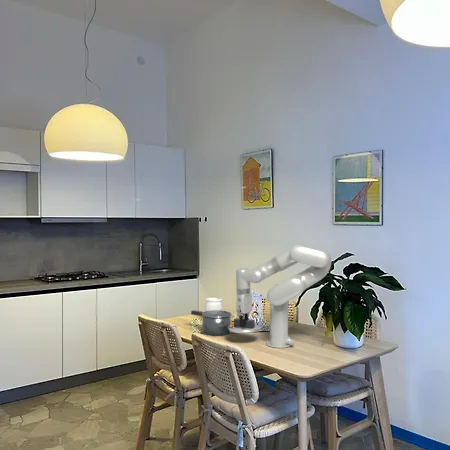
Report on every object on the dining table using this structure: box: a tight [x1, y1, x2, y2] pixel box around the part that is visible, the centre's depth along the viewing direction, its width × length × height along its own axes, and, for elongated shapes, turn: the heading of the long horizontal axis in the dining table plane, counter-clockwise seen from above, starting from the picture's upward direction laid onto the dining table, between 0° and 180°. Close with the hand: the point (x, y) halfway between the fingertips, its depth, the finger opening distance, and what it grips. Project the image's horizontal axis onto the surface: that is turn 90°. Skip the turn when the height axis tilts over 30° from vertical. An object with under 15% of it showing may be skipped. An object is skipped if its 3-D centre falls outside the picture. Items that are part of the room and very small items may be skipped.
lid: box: [228, 317, 261, 334], centre depth 240 cm, size 17×17×5 cm
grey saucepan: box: [190, 309, 232, 337], centre depth 259 cm, size 25×17×11 cm, turn 58°
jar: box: [204, 296, 223, 312], centre depth 282 cm, size 11×10×15 cm
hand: (244, 325), depth 240 cm, fingers closed on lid, 3 cm apart
